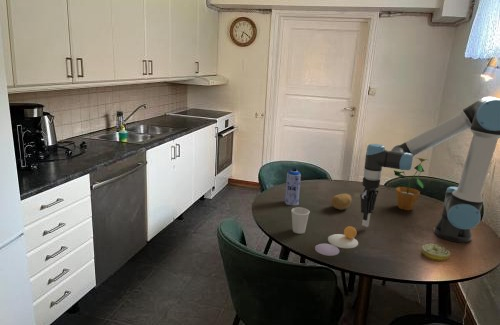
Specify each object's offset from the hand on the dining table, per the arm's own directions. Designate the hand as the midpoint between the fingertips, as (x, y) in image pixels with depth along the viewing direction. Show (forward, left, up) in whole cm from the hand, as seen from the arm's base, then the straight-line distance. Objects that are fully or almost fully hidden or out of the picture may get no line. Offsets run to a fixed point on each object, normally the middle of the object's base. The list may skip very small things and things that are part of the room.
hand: (365, 225), depth 175 cm
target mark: (0, +19, -2) cm, 19 cm away
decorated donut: (-32, 0, -2) cm, 32 cm away
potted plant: (0, -44, -2) cm, 44 cm away
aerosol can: (+44, +1, -2) cm, 44 cm away
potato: (+22, -14, -2) cm, 26 cm away
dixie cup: (+19, +26, -2) cm, 32 cm away
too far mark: (0, +31, -2) cm, 31 cm away
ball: (0, +14, +1) cm, 14 cm away
